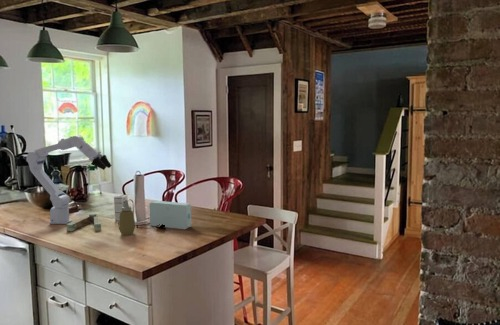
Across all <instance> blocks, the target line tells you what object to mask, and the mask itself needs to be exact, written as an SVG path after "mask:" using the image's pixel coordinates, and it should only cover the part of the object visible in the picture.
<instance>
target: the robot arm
mask: <svg viewBox="0 0 500 325" xmlns="http://www.w3.org/2000/svg"><path fill="white" fill-rule="evenodd" d="M74 147H75V148H77V150H78V151H80V152H81V153H82V154H83V155H85V156H86V157H87V158H88V161H90V162H91V164H90V165H92V166H95V167H97V168H99V169H101V170H103V171H104V170H106V169H107V168H108V169H110V168H111V167H112V165H113V164H111V162H110V161H109V160H108V157H107V155H106V154H101V151H97V150H96V149H95V148H94V147H92V146H91V145H90V144H89V143H88V142H86V140H85V139H84V137H83V136H81V135H73V136H69V137H67V138H61V139H60V140H58V143H55V144H51V145H47V146H43V147H40V148H37V149H35V150H34V151H30V152H28V153H27V155H26V159H25V161H26V162H27V163H28V167H29V171H30V172H31V174H32V175H33V176H34V177H35V178H36V179H37V181H38V182H39V184H40V185H42V188H44V189H45V191H46V192H47V194H49V195H50V196H49V200H50V201H51V204H52V207H51V208H50V210H49V221H50V222H49V224H52V225H53V224H54V225H57V224H58V225H67V224H69V223H71V222H72V221H73V219H70V212H69V203H70V202H71V197H70V195H68V194H67V193H65V192H64V191H62V190H60V189H59V188H58V186H56V184H55V183H54V181H52V179H51V178H50V177H49V175H48V174H47V173H46V172H45V171H44V169H43V165H44V163H45V161H46V159H47V156H49V153H51V152H55V151H58V150H61V151H65V150H69V149H72V148H74Z"/></svg>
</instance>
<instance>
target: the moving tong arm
mask: <svg viewBox="0 0 500 325" xmlns="http://www.w3.org/2000/svg"><path fill="white" fill-rule="evenodd" d="M88 224H90V216H89V215H87V216H83V217H82V218H80V219H77V220H75V221H73V222H68V223H67V224H66V232H74V231H76V230H78V229H80V228H82V227H84V226H86V225H88Z"/></svg>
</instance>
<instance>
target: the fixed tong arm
mask: <svg viewBox="0 0 500 325" xmlns="http://www.w3.org/2000/svg"><path fill="white" fill-rule="evenodd" d="M88 216H90V223H93V226H94V232H98V231H102V222H101V221H99V218H98V214H96V213H92V214H88ZM90 223H89V224H90Z"/></svg>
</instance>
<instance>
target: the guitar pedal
mask: <svg viewBox="0 0 500 325" xmlns="http://www.w3.org/2000/svg"><path fill="white" fill-rule="evenodd" d="M149 224H150V226H152V227H157V226H156V225H159V224H163V225H165V227H164V228H170V229H171V228H172V229H178V230H179V229H181V230H186V229H188V228H190V227H191V226H192V205H191V204H190V203H188V202H178V201H177V202H175V201H164V200H163V201H162V200H155V201H152V202H150V203H149Z"/></svg>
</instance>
